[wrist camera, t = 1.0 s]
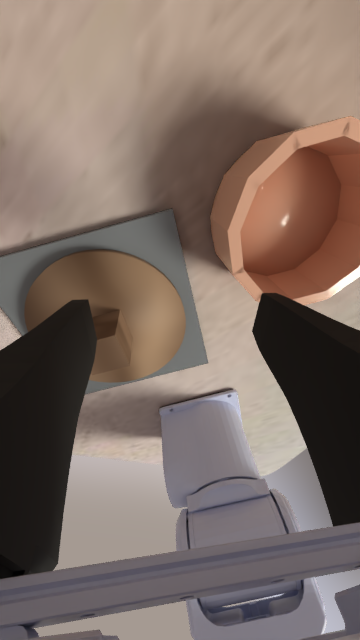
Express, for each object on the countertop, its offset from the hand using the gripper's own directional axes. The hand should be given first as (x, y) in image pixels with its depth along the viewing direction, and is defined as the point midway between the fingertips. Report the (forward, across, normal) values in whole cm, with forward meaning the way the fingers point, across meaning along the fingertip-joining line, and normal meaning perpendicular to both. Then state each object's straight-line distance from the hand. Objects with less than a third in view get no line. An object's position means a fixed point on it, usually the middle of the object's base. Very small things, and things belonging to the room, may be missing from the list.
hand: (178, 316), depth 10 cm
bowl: (+10, -8, -2) cm, 13 cm away
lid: (+9, +5, +7) cm, 12 cm away
